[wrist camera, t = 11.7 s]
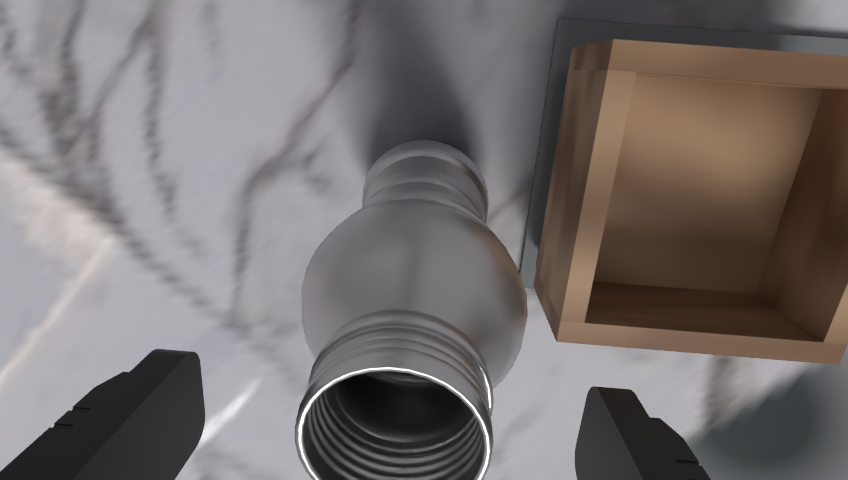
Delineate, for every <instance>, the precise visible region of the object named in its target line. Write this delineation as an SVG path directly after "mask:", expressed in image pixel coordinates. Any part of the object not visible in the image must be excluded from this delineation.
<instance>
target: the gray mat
mask: <svg viewBox="0 0 848 480" xmlns="http://www.w3.org/2000/svg"><path fill="white" fill-rule="evenodd" d="M612 39H619V40H633V41H647V42H661V43H674V44H688V45H702V46H716V47H730V48H744V49H758V50H771V51H785V52H799V53H813V54H827V55H841V56H848V39H841V38H827V37H813V36H799V35H785V34H771V33H757V32H743V31H729V30H715V29H701V28H687V27H673V26H659V25H645V24H631V23H617V22H604V21H590V20H576V19H562V18H559V19H557V25H556V32H555V38H554V45H553V52H552V58H551V65H550V72H549V79H548V85H547V92H546V99H545V105H544V112H543V119H542V125H541V132H540V139H539V145H538V152H537V159H536V166H535V172H534V179H533V186H532V192H531V199H530V206H529V212H528V219H527V226H526V232H525V239H524V246H523V253H522V259H521V266H520V275H521V277H522V281H523V284H524V288H532V289H534V280H535V273H536V261H537V254H538V248H539V244H540V242H541V236H542V230H543V224H544V218H545V212H546V205H547V199H548V193H549V187H550V181H551V175H552V168H553V162H554V156H555V150H556V144H557V137H558V131H559V125H560V119H561V113H562V107H563V100H564V94H565V88H564V87H565V80H566V74H567V68H568V63H570V57H571V51H572V47H577V46H582V45H587V44H592V43H597V42H602V41H607V40H612Z"/></svg>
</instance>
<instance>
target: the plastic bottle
mask: <svg viewBox="0 0 848 480" xmlns="http://www.w3.org/2000/svg"><path fill="white" fill-rule="evenodd" d="M488 205H489V201H488V191H487V187H486V184H485V180H484V178H483V176H482V174H481V173H480V171H479V169H478V168H477V167H476V165H475V164H474V163H473V162H472V160H471V159H469V158H468V157H467V156H466V155H465V154H463V153H462V152H461V151H459V150H457V149H456V148H454V147H452V146H450V145H447V144H444V143H441V142H438V141H429V140H417V141H410V142H406V143H403V144H399V145H397V146H395V147H393V148H392V149H390V150H388V151H387V152H386V153H384V154H383V155H382V156H381V157H379V158H378V160H377V161H376V162H375V163H374V165H373V166H372V167H371V169H370V171H369V173H368V175H367V177H366V180H365V184H364V188H363V198H362V208H361V209H360V210H358V211H357V212H355V213H354V214H352V215H351V216H350V217H348V218H347V219H346V220H344V221H343V222H342V223H341V224H339V225H338V226H337V227H336V228H335V229H334V230H333V231H332V232H331V233H330V234H329V235H328V236H327V237H326V239H325V240H324V241H323V242H322V243H321V245H320V246H319V247H318V248H317V249H316V251H315V252H314V254H313V256H312V258H311V260H310V262H309V264H308V266H307V268H306V272H305V276H304V280H303V285H302V325H303V330H304V334H305V339H306V342H307V344H308V346H309V349H310V351H311V353H312V355H313V357H314V359H315V362H314V364H313V367H312V370H311V374H310V378H309V387H308V389H307V391H306V393H305V396H304V398H303V400H302V402H301V404H300V407H299V411H298V415H297V419H296V425H295V444H296V448H297V452H298V456H299V458H300V460H301V462H302V464H303V466H304V468H305V470H306V472H307V473H308V474H309V476H310V477H311V478H312V479H313V480H483V479H484V477H485V475H486V472H487V470H488V468H489V466H490V460H491V455H492V447H493V433H492V423H491V414H492V408H493V389H494V388H495V387H496V386H497V385H498V384H500V383H501V382H502V381H503V379H504V378H505V377H506V375H507V374H508V372H509V371H510V370H511V368H512V367H513V365H514V363H515V360H516V358H517V356H518V353H519V351H520V349H521V345H522V340H523V336H524V331H525V326H526V320H527V315H528V314H527V295H526V291H525V288H524V284H523V281H522V277H521V275H520V273H519V271H518V269H517V267H516V265H515V263H514V261H513V260H512V258H511V256H510V254H509V253H508V251H507V249H506V247H505V246H504V245H503V244H502V242H501V241H500V240H499V239H498V238H497V237H496V235H495V234H494V233H493V232H492V231H491V230H490V229H489V228H488V226H487V225H486V221H487V214H488Z"/></svg>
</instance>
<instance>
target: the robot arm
mask: <svg viewBox="0 0 848 480" xmlns="http://www.w3.org/2000/svg"><path fill="white" fill-rule="evenodd" d="M204 423H205V408H204V397H203V387H202V377H201V366H200V359H199V357H198V355H197V354H196V353H195V352H188V351H176V350H164V349H155V350H153V351H152V352H151V353H149V354H148V355H147V356H146V357H145V358H144V359H143V360H142V361H141V362H140V363H139V364H138V365H137V366H136V367H135V368H134V369H132V370H131V371H130V372H122V373H120V374H118V375H117V376H115V377H113V378H111V379H109V380H107V381H105V382H104V383H102V384H100V385H98V386H96V387H94V388H93V389H92V390H91V391H90V392H89V393H88V394H87V395H86V396H84V397H83V398H82V399H81V400H80V401H79V402H78V403H77V404H75V405H74V406H73V410H72V411H68V412H67V413H65V414H64V415H63V416H62V417H61V418H60V419H59V420H58V421H56V422H55V425H54V427H53V428H49V429H48V430H46V431H45V432H44V433H43V434H42V435H41V436H40V437H39V438H37V439H36V440H35V441H34V442H33V443H32V444H31V445H30V446H29V447H27V448H26V449H25V450H24V451H23V452H22V453H21V454H20V455H18V456H17V457H16V458H15V459H14V460H13V461H12V462H11V463H10V464H8V465H7V466H6V467H5V468H4V469H3V470H2V471H1V472H0V480H175V478H176V477H177V475H178V474H179V472H180V471H181V469H182V468H183V466H184V465H185V463H186V462H187V460H188V459H189V457H190V456H191V454H192V453H193V451H194V450H195V448H196V446H197V445H198V443H199V440H200V438H201V435H202V432H203V428H204ZM575 469H576V475H577V480H711V479H710V478H709V476H708V475H707V473H706V472H705V470H704V469H703V467H702V466H699V461H698V460H697V458H696V457H695V455H694V454H693V452H692V451H691V449H690V448H689V446H688V445H687V443H686V442H685V440H684V439H683V438H682V437H681V436H680V435H679V434H678V433H676V432H675V431H674V430H673V429H672V428H671V427H669V426H668V425H667V424H666V423H665V422H664V421H662V420H661V419H660V418H650V417H649V416H648V414H647V413H646V411H645V409H644V408H643V406H642V404H641V403H640V401H639V399H638V398H637V396H636V395H635V393H634V392H633V391H632V390H629V389H617V388H605V387H591V388H590V390H589V392H588V395H587V398H586V403H585V407H584V412H583V416H582V421H581V425H580V430H579V434H578V439H577V443H576V448H575Z"/></svg>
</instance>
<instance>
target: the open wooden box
mask: <svg viewBox="0 0 848 480" xmlns="http://www.w3.org/2000/svg"><path fill="white" fill-rule="evenodd" d="M564 88H565V94H564V100H563V107H562V113H561V119H560V125H559V131H558V137H557V144H556V150H555V156H554V162H553V168H552V175H551V181H550V187H549V193H548V199H547V205H546V212H545V218H544V224H543V230H542V236H541V242H540V244H539V248H538V254H537V261H536V273H535V280H534V289H535V291H536V294H537V296H538V298H539V301H540V303H541V306H542V308H543V310H544V313H545V315H546V317H547V320H548V322H549V325H550V327H551V329H552V332H553V334H554V337H555V339H556V341H557V342H566V343H578V344H591V345H603V346H615V347H627V348H640V349H652V350H664V351H676V352H689V353H701V354H713V355H726V356H738V357H750V358H762V359H775V360H787V361H799V362H811V363H824V364H836V365H839V364H840V361H841V359H842V357H843V354H844V352H845V350H846V347H847V345H848V56H841V55H827V54H813V53H799V52H785V51H771V50H758V49H744V48H730V47H716V46H702V45H688V44H674V43H661V42H647V41H633V40H619V39H612V40H607V41H602V42H597V43H592V44H587V45H582V46H577V47H572V51H571V57H570V63H568V68H567V74H566V80H565V87H564Z"/></svg>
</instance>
